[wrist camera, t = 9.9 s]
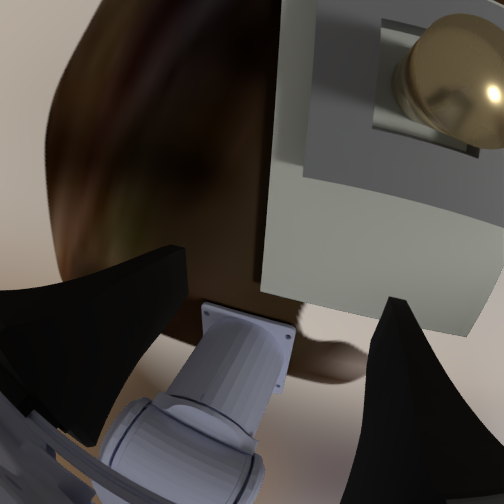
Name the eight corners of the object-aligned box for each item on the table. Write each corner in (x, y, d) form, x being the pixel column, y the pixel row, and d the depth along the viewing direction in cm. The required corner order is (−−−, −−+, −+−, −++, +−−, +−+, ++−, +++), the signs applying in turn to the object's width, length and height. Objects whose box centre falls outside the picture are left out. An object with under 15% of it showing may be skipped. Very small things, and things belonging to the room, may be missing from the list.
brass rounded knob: (457, 134, 12) (527, 166, 6) (387, 116, 13) (410, 128, 7) (463, 64, 10) (536, 43, 4) (392, 45, 11) (416, -3, 5)
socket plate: (464, 329, 18) (470, 356, 16) (263, 284, 22) (250, 308, 20) (541, 31, 7) (563, 26, 4) (287, -38, 11) (273, -57, 9)
